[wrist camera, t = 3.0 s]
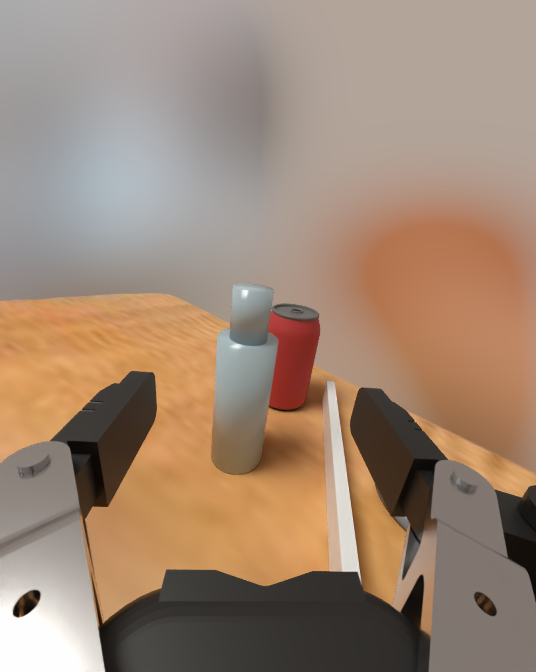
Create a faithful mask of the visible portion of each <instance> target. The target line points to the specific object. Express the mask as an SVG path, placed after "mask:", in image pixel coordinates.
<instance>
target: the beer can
mask: <svg viewBox="0 0 536 672" xmlns="http://www.w3.org/2000/svg"><path fill="white" fill-rule="evenodd" d="M318 318H319V313H318V312H317V311H315V310H314V309H311V308H308V307H305V306H301V305H295V304H277V305H274V306H273V307H272V311H271V316H270V323H269V331H268V332H269V333H271V334H273V335H274V336H276V337H277V339H278V348H277V355H276V362H275V368H274V375H273V382H272V388H271V395H270V402H269V406H271V407H273V408H277V409H281V410H290V409H295V408H297V407H300V406H301V405H302V404H303V403H304V402H305V401H306V397H307V392H308V387H309V383H310V378H311V373H312V368H313V364H314V358H315V354H316V350H317V345H318V340H319V336H320V324H319V319H318Z"/></svg>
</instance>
